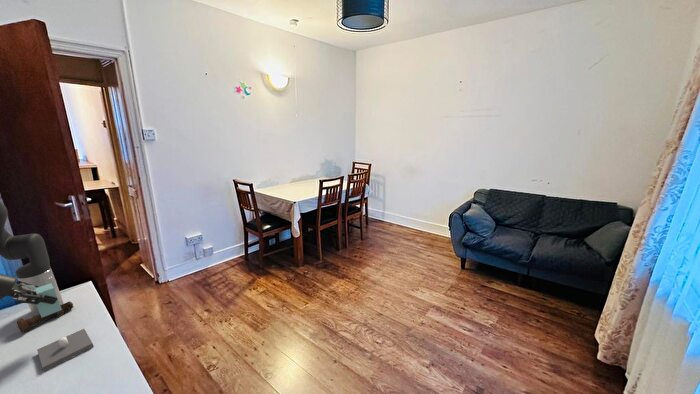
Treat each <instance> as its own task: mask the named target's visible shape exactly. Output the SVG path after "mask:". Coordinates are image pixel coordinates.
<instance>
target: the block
mask: <svg viewBox="0 0 700 394" xmlns="http://www.w3.org/2000/svg"><path fill="white" fill-rule="evenodd" d="M34 290H35V291H37V292H38V294H43V295H47V296H52V297H57V296H56V293H55V290H54V288H53V286H52V284H51V283H50V284H47V285H44V286H41V287H38V288H36V289H34ZM34 299H37V298H34ZM57 299H58V298H57ZM36 305H37V307H38V310H39V312H40V315H41V317H45V316H47V315H50V314H52V313H55V312H58V311H60V310H62V309H61V306H60V304H59V301H58V300H57V301H56V302H55V303H54V304H48V303H43V302H40V303H39V304H36Z"/></svg>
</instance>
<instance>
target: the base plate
mask: <svg viewBox="0 0 700 394" xmlns="http://www.w3.org/2000/svg"><path fill="white" fill-rule="evenodd" d="M92 348H94V344H93V342H92V340H91V338H90V337H89V335H88V333H87V330H86V329H85V328H82V329H80V330H78V331H75V332H74V333H71V334H69V335H67V336H63V337H61V338H58V340H55V341H52V342H51V343H49V344H46V345H44V346H42V347H40V348H37V349H36V351H37V354H38V357H39V361H40V364H41V367H42V369H43V371H44V372H45V371H47V370H49V369H51V368H53V367H55V366H58V365H59V364H62V363H64V362H65V361H68V360H69V359H72V358H73V357H76V356H78V355H80V354H81V353H83V352H86V351H88V350H91V349H92Z"/></svg>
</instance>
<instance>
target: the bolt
mask: <svg viewBox="0 0 700 394" xmlns="http://www.w3.org/2000/svg"><path fill="white" fill-rule="evenodd" d="M63 303H64V302H63ZM60 306H61V309H62V310H60V311H58V312H55V313H52V314H50V315H47V316H45V317H41V315H40V314H39V315H36V316H34V315H33V316H32V317H29V318H26V319H25V318H24V317H20V318H18V319H17V320H16V325H17V328H18V330H19V331H20V332H21V333H22V334H26V333H27V332H29V331H30V328H33V327H35V326H36V325H38V324H41V323H43V322H45V321H48V320H49V319H52V318H54V317H57V318H59V317H61V316H63V315H64V312H67V311H70V310H71V309H73V308H74V303H73V302H72V301H67V302H65V303H64V304H62V305H60Z"/></svg>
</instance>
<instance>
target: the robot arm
mask: <svg viewBox="0 0 700 394" xmlns="http://www.w3.org/2000/svg"><path fill="white" fill-rule="evenodd" d="M8 215H9V214H8V209H7V207H6V206H5V205H4V204H3V202H2V201H0V256H1V257H2V258H4V259H5V260H7V261H15V260H23V259H24V260H25V259H29V262H28V263H26V264H24V265H22V266H20V267H19V268H17V269H16V270H15V275H16V276H13V275H7V274H3V273H0V301H1V300H3V299H4V298H5V297H8V298H9V297H11V299H14V300H15V302H16V303H21V304H27V305H28V307H29V310H30V312H31V314H32V316H33V317H34V316H36V315H39V314H40V312H39V310H38V307H37V305H36V304H39V303H40V302H43V303H48V304H54V303H55V302H56V301H57V300H58V301H59V304H60V305H62V304H64V301H63V298H62V295H61V294H62V293H61V292H60V289H59V287H58V284H57V280H56V278H55V275H54V272H53V270H52V267H51V264H50V256H49V254H48V250H47V246H46V243H45V240H44V238H43V236H41V234H40V233H29V234H19V235H12V234H11V233H9V231H7V230H6V228H5V227H6V223H7V220H8ZM50 283H51V284H52V286H53V288H54V290H55V293H56V296H57V297H52V296H47V295H43V294H38V292H37V291H35V290H34V289H36V288H38V287H41V286H44V285H47V284H50ZM34 298H37V299H34ZM57 298H58V299H57Z"/></svg>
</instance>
